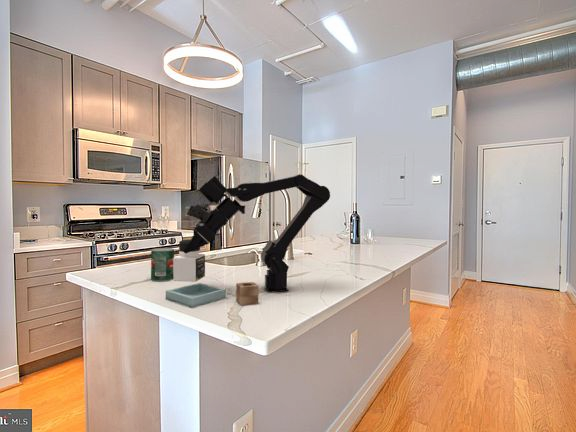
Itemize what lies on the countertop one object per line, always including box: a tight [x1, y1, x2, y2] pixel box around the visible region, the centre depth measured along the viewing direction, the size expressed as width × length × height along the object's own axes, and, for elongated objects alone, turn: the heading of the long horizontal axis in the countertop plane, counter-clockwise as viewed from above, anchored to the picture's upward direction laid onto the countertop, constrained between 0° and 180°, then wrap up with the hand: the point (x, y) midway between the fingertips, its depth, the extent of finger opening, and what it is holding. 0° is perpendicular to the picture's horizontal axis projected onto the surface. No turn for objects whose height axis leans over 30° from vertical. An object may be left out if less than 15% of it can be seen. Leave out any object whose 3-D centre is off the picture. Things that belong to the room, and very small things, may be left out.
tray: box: [165, 282, 227, 309], centre depth 90 cm, size 12×12×2 cm
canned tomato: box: [150, 247, 175, 283], centre depth 113 cm, size 8×8×11 cm
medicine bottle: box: [173, 238, 206, 283], centre depth 95 cm, size 7×7×12 cm
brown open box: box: [235, 281, 259, 306], centre depth 88 cm, size 5×5×5 cm
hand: (184, 250), depth 94 cm, fingers closed on medicine bottle, 6 cm apart
